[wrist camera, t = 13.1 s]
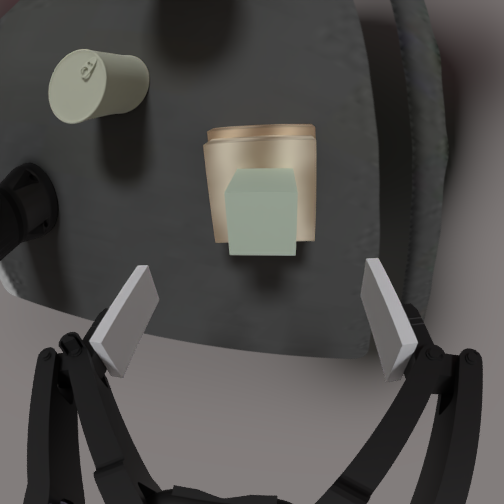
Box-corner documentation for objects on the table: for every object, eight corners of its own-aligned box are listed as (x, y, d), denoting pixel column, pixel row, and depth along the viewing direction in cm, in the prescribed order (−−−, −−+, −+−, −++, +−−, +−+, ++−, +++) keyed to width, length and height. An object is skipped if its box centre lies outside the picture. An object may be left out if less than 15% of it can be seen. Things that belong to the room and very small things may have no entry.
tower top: (221, 226, 39) (215, 242, 35) (212, 139, 33) (203, 145, 29) (310, 224, 38) (314, 240, 34) (311, 134, 32) (316, 140, 28)
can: (162, 80, 33) (119, 77, 22) (121, 125, 36) (73, 140, 26) (124, 44, 30) (75, 34, 19) (87, 89, 33) (35, 96, 23)
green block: (240, 218, 33) (229, 254, 26) (237, 168, 30) (224, 192, 23) (292, 219, 33) (295, 255, 26) (293, 168, 30) (297, 192, 23)
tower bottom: (223, 213, 43) (218, 226, 39) (214, 127, 36) (207, 131, 33) (310, 211, 42) (314, 224, 38) (310, 123, 35) (315, 127, 31)
